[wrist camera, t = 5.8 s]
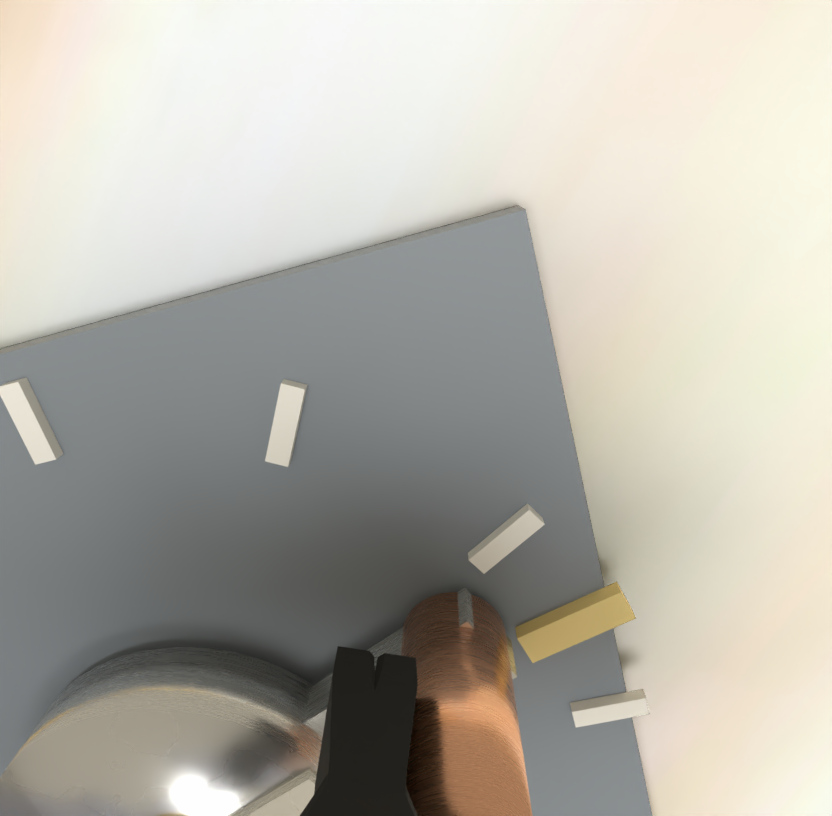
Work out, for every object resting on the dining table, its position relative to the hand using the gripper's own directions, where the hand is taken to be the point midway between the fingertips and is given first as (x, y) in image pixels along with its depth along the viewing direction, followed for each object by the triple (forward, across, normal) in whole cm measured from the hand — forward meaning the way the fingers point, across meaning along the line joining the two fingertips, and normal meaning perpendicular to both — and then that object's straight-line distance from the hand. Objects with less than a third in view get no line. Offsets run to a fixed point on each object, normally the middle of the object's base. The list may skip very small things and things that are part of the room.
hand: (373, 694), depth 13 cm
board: (+4, +3, +5) cm, 7 cm away
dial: (+3, +2, +5) cm, 6 cm away
